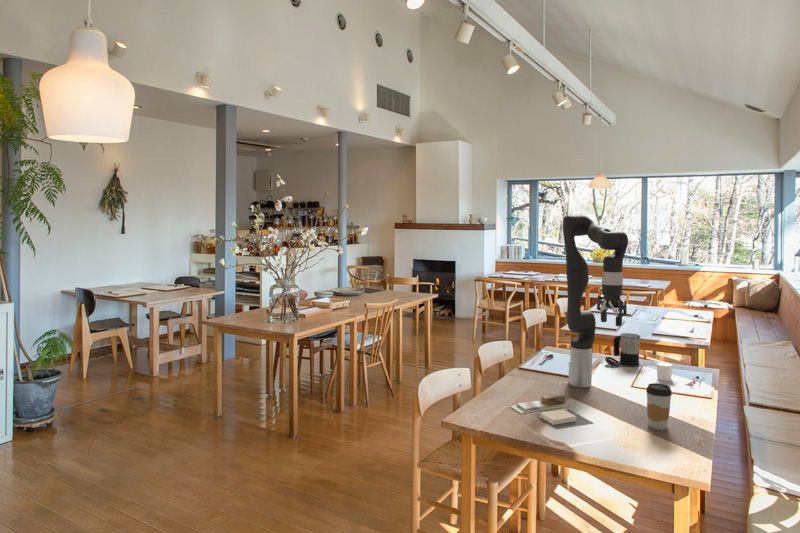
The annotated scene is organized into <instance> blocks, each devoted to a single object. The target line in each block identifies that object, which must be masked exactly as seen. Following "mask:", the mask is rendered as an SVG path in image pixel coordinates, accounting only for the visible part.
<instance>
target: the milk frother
mask: <svg viewBox="0 0 800 533" xmlns="http://www.w3.org/2000/svg"><path fill="white" fill-rule="evenodd" d="M641 337H642V336H641V335H640V334H638V333H631V332H630V333H627V332H625V333H621V334H619V335H616V336H615V337H614V338H613V356H615V357H618V356H620V357H619V360H617V359H616V358H614V357H611V356H606V357H604V361H605V362H606V364H608V365H610V367H619V366H620V365H622V366H625V367H639V365H640V359H639V358H640V345H641Z"/></svg>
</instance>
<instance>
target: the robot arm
mask: <svg viewBox="0 0 800 533" xmlns="http://www.w3.org/2000/svg"><path fill="white" fill-rule="evenodd" d="M562 235H563V242H564V250H565V267H566V268H565V269H566V271H565V272H566V284H567V306H566V307H567V308H566V323H567V326H568V329H569V331H570V332H572V333H574V334H575V333H577V335H576V336H575V337H573V338H572V339H571V340H570V354H569V356H570V358H569V362H568V383H569V385H570V386H572V387H575V388H582V389H583V388H585V389H586V388H591V387H592V376H593V345H594V342H595V336H596V325H597V324H596V323H597V322H596V317H595V314H594V313H593V312H592V311H590V310H588V309H586V310H581V305H582V304H581V303H582V298H583V295H584V293H585V291H586V289H587V287H588V284H589V281H590V280H589V279H590V278H589V265H588V263H587V261H586V259H585V258H584V256H583V255H582V254H581V253H580V251H579V249H578V247H577V245H576V241H575V237H581V236H587V237H588V239H589V240H590V241H592V242H593V243H595V244H597V245H598V247H599V248H600V249H602V250H605V251H614V252H613V253H612V254H610V255H607V256H604V258H603V261H602V262H603V265H602V276H601V294H602V295H598V296H597V302H596V309H597V310H596V311H599V313H600V322H602V323H606V322H608V321H607V318H608V310H609V309H610V310H612V312H614V314H615V326H616V327H622V326H623V325H622V324H623V317H625V316H627V310H628V308H627V300H626V299H621V297H622V295H623V283H624V279H623V278H624V277H623V262H624V258H625V254H626V253H627V252H626V251H627V249H628V245H629V237H628V235H627V233H626V232H624V231H611V230H610V229H609V228H608V227H605V226H602V225H599V224H598V223H596V222H595V221H594V220H593V219H592V218H590V217H589V216H587V215H585V214H569V215H565V216H564V217H563V220H562Z"/></svg>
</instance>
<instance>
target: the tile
mask: <svg viewBox="0 0 800 533" xmlns="http://www.w3.org/2000/svg"><path fill="white" fill-rule="evenodd" d="M566 410H567V409H565V408H560V409H553V410H546V411H540V414H541V418H542V419H544V420H546V421H547V422H549V423H550V424H552V425H557V424H563V423H570V422H575V421H576V416H575V415H573V414H571V413H569V412H568V411H566Z"/></svg>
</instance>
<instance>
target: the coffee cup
mask: <svg viewBox="0 0 800 533" xmlns="http://www.w3.org/2000/svg"><path fill="white" fill-rule="evenodd" d="M671 389H672V388H671V386H670V385H668V384H664V383H655V382H653V383H649V384H648V385H647V387H646V391H645V392H646V402H647V403H646V411H647V414H646V416H647V425H648V427H649V428H650V429H652V430H656V431H665V430H666V429H667V428H668V424H669V418H670V409H671V399H672V390H671Z"/></svg>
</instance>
